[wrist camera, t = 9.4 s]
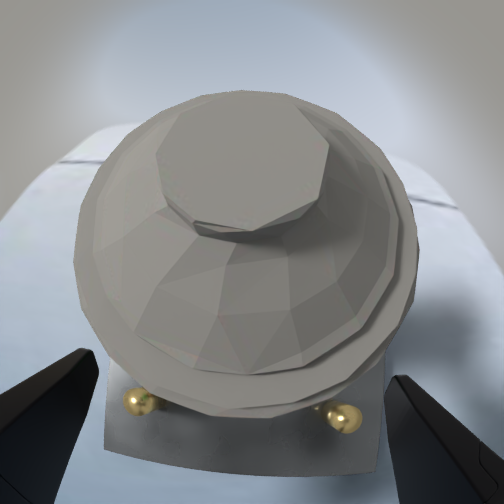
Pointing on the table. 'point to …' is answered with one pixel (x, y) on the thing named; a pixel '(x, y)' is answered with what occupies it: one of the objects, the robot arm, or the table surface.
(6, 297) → the table surface
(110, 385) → the plate
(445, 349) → the table surface
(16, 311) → the table surface
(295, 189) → the shock absorber
